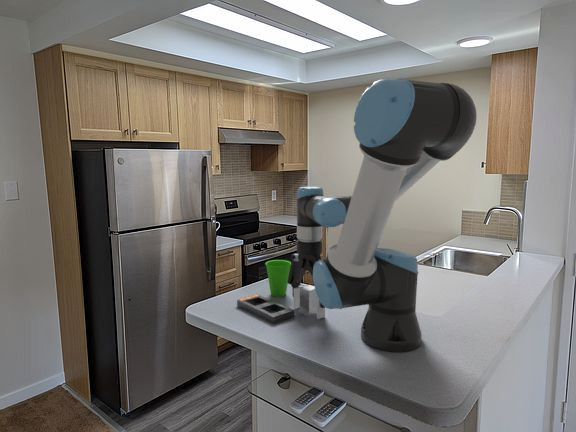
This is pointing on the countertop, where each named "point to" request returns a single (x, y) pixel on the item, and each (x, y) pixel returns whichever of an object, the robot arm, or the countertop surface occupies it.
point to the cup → (278, 276)
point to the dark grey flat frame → (265, 308)
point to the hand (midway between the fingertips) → (308, 312)
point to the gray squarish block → (308, 300)
